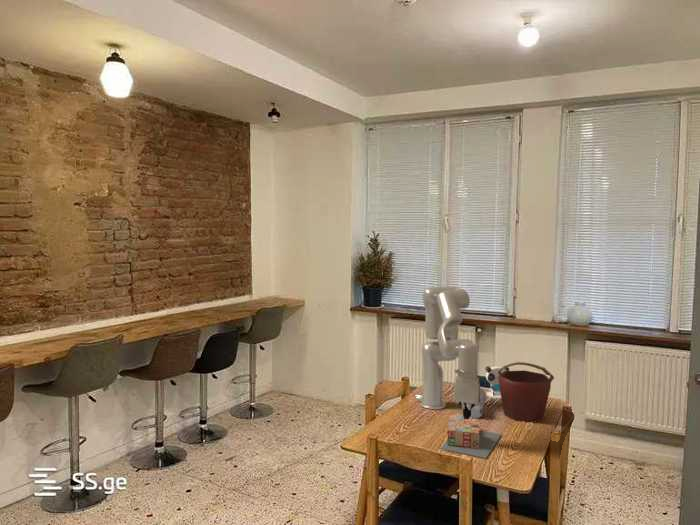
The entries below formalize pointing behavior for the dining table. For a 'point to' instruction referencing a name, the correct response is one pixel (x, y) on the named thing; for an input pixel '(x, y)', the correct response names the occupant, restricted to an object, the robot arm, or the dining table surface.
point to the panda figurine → (494, 380)
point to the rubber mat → (485, 445)
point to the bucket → (524, 393)
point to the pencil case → (478, 410)
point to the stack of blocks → (462, 431)
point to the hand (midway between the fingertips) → (466, 418)
